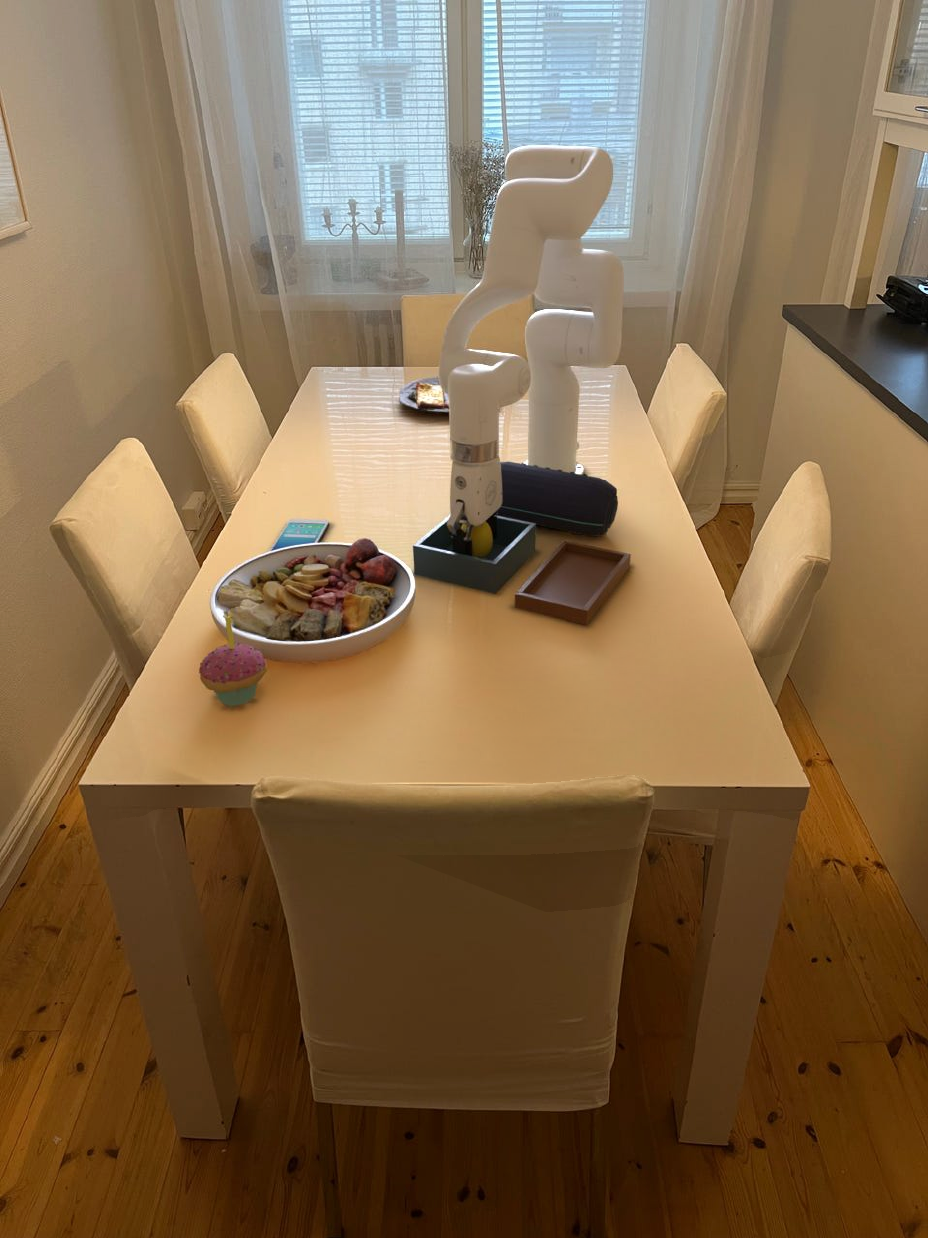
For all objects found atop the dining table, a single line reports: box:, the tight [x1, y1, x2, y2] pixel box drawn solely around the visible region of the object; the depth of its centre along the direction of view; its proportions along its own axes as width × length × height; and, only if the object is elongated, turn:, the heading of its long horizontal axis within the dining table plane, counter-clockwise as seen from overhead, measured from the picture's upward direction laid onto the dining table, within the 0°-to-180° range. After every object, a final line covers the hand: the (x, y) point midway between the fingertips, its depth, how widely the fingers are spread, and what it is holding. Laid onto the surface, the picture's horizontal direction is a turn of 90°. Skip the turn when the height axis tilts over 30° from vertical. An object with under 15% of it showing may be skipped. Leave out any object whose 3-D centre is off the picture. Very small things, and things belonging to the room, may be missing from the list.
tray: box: [514, 540, 632, 626], centre depth 145 cm, size 20×12×2 cm, turn 153°
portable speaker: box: [497, 461, 619, 537], centre depth 162 cm, size 25×10×10 cm, turn 62°
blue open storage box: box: [412, 513, 537, 595], centre depth 152 cm, size 16×15×5 cm
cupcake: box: [198, 610, 268, 707], centre depth 120 cm, size 9×8×12 cm
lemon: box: [461, 520, 493, 559], centre depth 151 cm, size 6×6×8 cm
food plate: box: [398, 376, 449, 413], centre depth 221 cm, size 25×23×4 cm
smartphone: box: [268, 518, 330, 552], centre depth 160 cm, size 8×1×15 cm
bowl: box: [209, 537, 417, 664], centre depth 138 cm, size 30×30×8 cm
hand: (475, 548), depth 152 cm, fingers open, 8 cm apart
